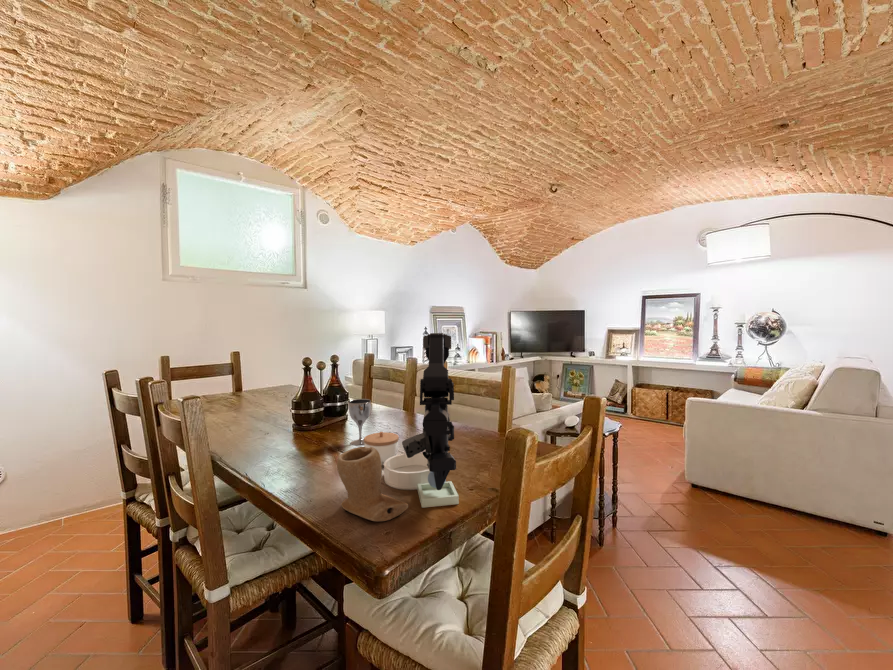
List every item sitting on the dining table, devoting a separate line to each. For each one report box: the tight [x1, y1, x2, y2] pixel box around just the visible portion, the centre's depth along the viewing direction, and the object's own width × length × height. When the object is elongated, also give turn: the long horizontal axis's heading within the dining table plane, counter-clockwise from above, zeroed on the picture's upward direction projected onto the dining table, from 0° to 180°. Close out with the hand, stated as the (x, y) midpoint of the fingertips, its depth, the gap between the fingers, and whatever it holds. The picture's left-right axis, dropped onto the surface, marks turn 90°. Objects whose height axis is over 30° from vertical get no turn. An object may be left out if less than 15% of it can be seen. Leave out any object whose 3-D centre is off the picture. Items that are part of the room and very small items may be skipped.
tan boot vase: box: [336, 446, 409, 522], centre depth 96 cm, size 15×12×15 cm
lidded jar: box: [363, 431, 400, 466], centre depth 129 cm, size 11×11×9 cm
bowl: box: [383, 452, 430, 491], centre depth 116 cm, size 15×15×4 cm
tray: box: [417, 480, 460, 509], centre depth 104 cm, size 9×9×2 cm
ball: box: [428, 471, 447, 488], centre depth 104 cm, size 5×5×5 cm
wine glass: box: [347, 398, 372, 447], centre depth 149 cm, size 8×8×15 cm
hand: (437, 485), depth 104 cm, fingers closed on ball, 4 cm apart
